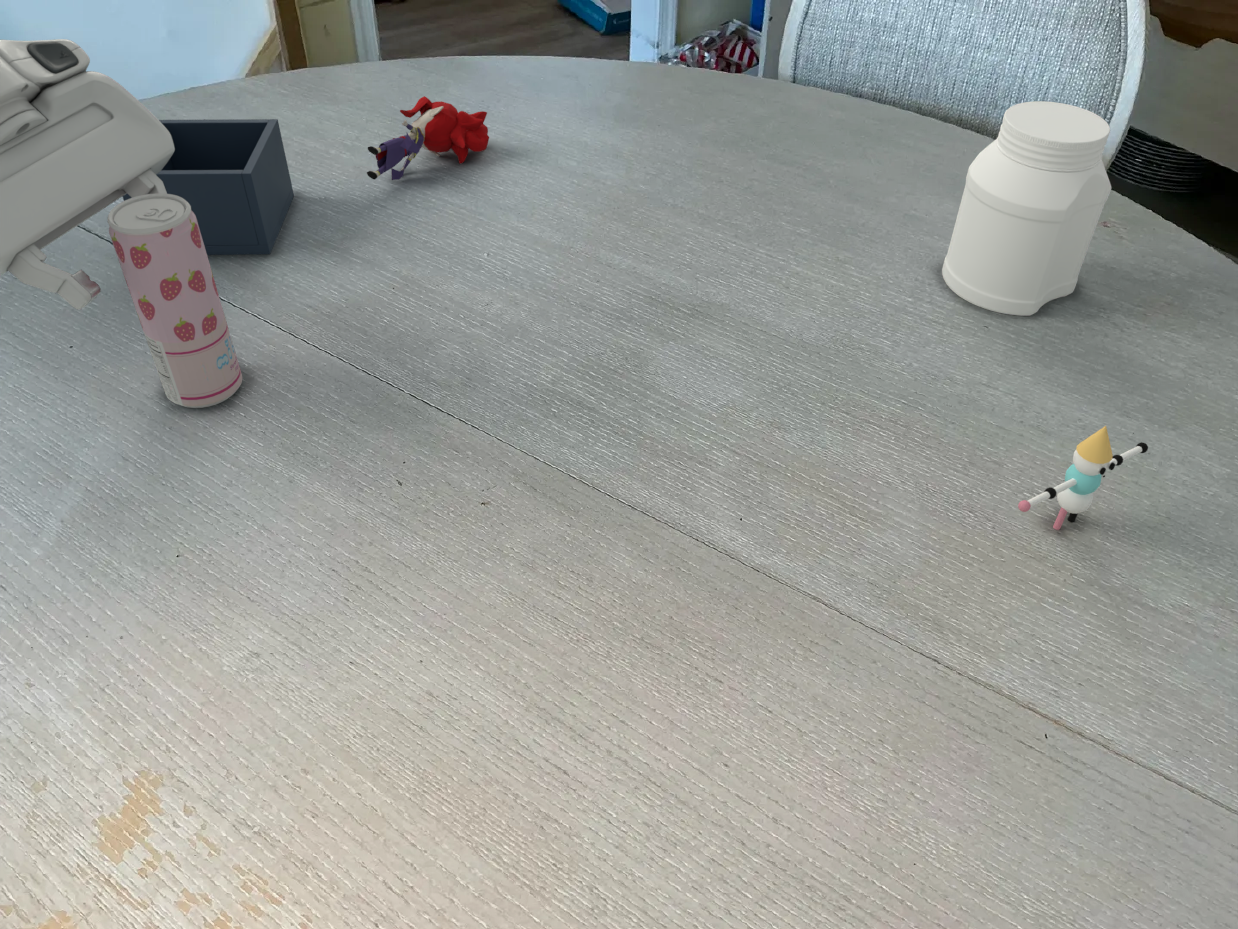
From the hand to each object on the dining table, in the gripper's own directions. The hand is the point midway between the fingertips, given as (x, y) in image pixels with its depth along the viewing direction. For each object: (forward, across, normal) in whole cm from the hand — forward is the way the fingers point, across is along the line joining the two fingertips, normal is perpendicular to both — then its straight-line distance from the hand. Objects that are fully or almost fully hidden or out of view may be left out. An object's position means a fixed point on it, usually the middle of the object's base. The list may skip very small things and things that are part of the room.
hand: (137, 266), depth 71 cm
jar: (+50, +38, -35) cm, 72 cm away
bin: (-1, +23, +16) cm, 28 cm away
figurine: (+8, +41, +6) cm, 42 cm away
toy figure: (+54, +7, -39) cm, 67 cm away
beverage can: (+9, +1, +6) cm, 11 cm away
